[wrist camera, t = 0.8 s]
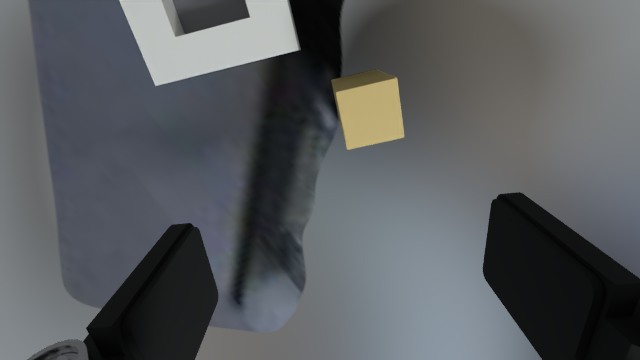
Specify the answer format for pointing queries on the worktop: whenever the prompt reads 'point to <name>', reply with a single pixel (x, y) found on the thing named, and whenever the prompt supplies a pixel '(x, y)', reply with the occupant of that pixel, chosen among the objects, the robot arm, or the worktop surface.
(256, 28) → the socket housing
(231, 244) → the worktop surface
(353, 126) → the plug block
